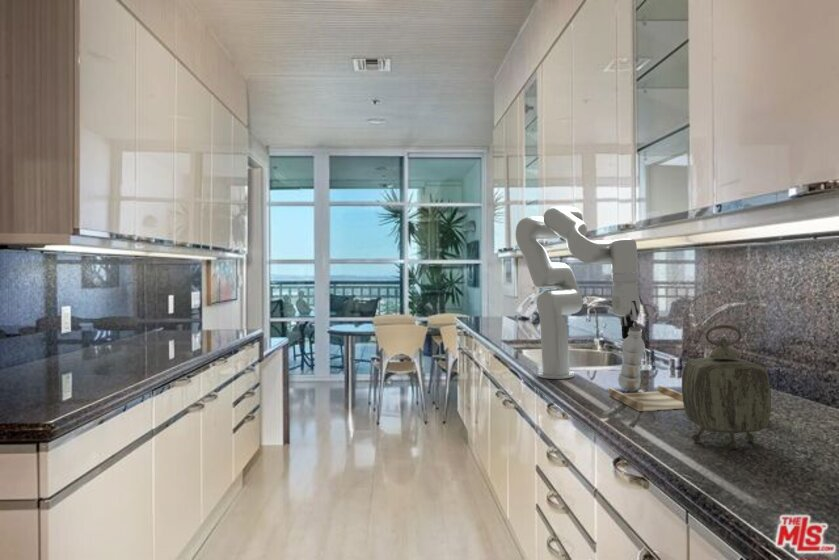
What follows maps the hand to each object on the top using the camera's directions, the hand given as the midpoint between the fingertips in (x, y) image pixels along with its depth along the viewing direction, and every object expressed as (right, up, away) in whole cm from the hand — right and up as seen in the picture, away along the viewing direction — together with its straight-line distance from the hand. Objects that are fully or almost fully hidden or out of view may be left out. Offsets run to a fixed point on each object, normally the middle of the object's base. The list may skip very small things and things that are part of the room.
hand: (628, 338), depth 164 cm
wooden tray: (+1, -16, -13) cm, 21 cm away
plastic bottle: (+1, -16, +1) cm, 16 cm away
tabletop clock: (0, -17, -54) cm, 56 cm away
